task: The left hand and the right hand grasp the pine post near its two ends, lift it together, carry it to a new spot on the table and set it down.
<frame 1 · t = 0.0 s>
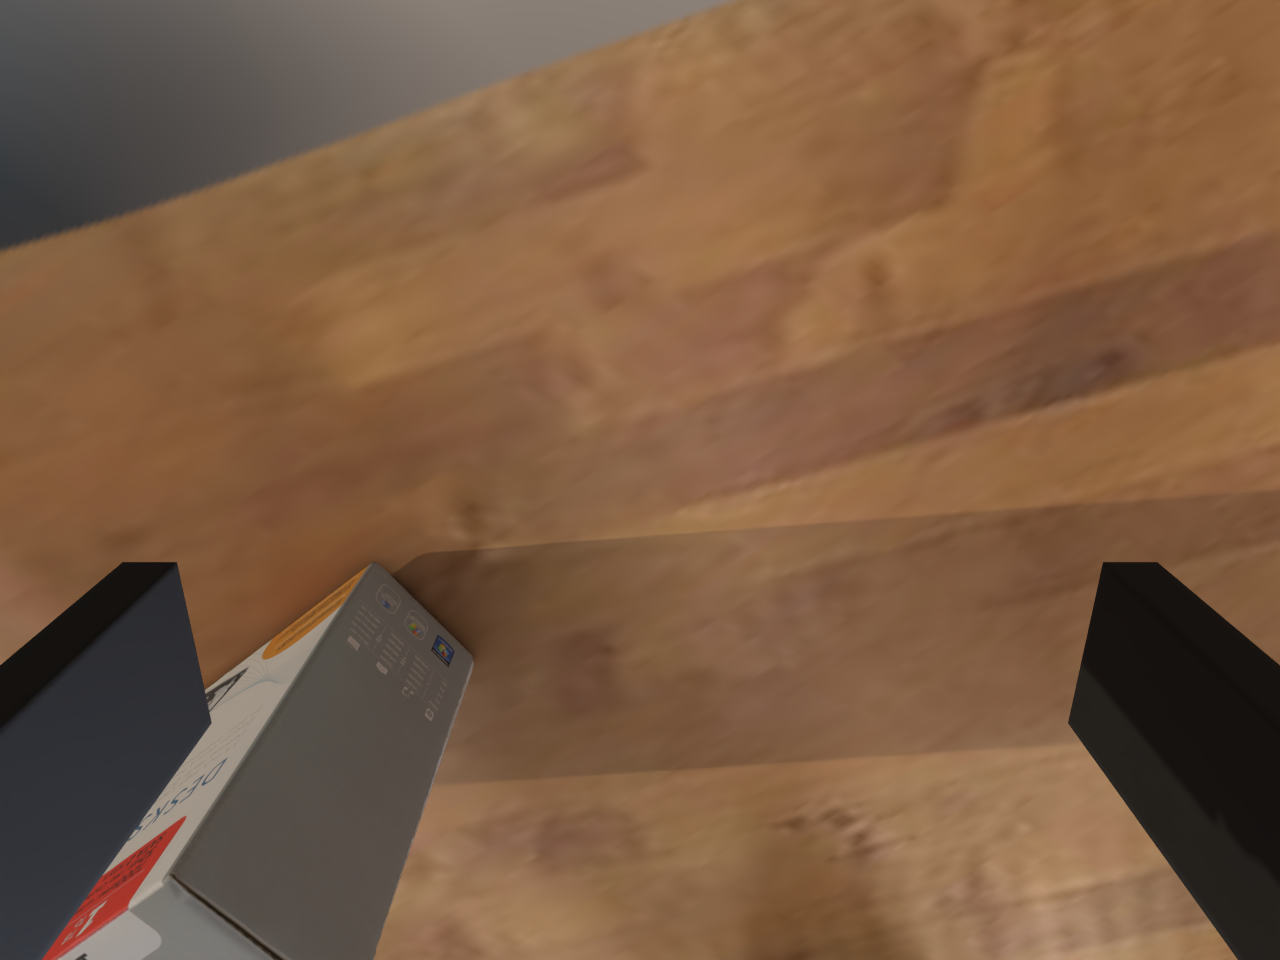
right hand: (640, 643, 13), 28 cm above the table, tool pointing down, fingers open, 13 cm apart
hard drive box: (321, 684, 46), on the table
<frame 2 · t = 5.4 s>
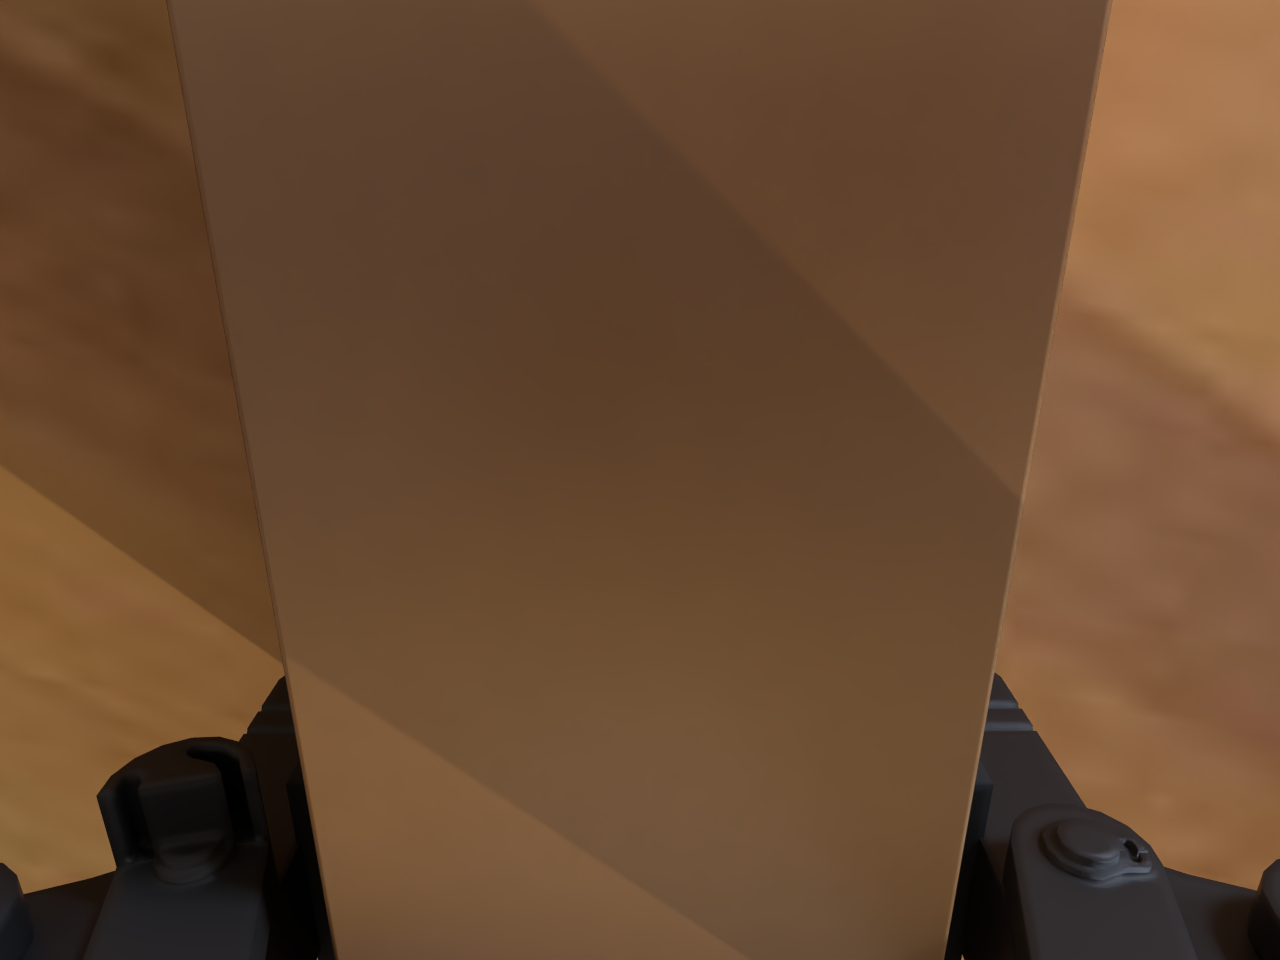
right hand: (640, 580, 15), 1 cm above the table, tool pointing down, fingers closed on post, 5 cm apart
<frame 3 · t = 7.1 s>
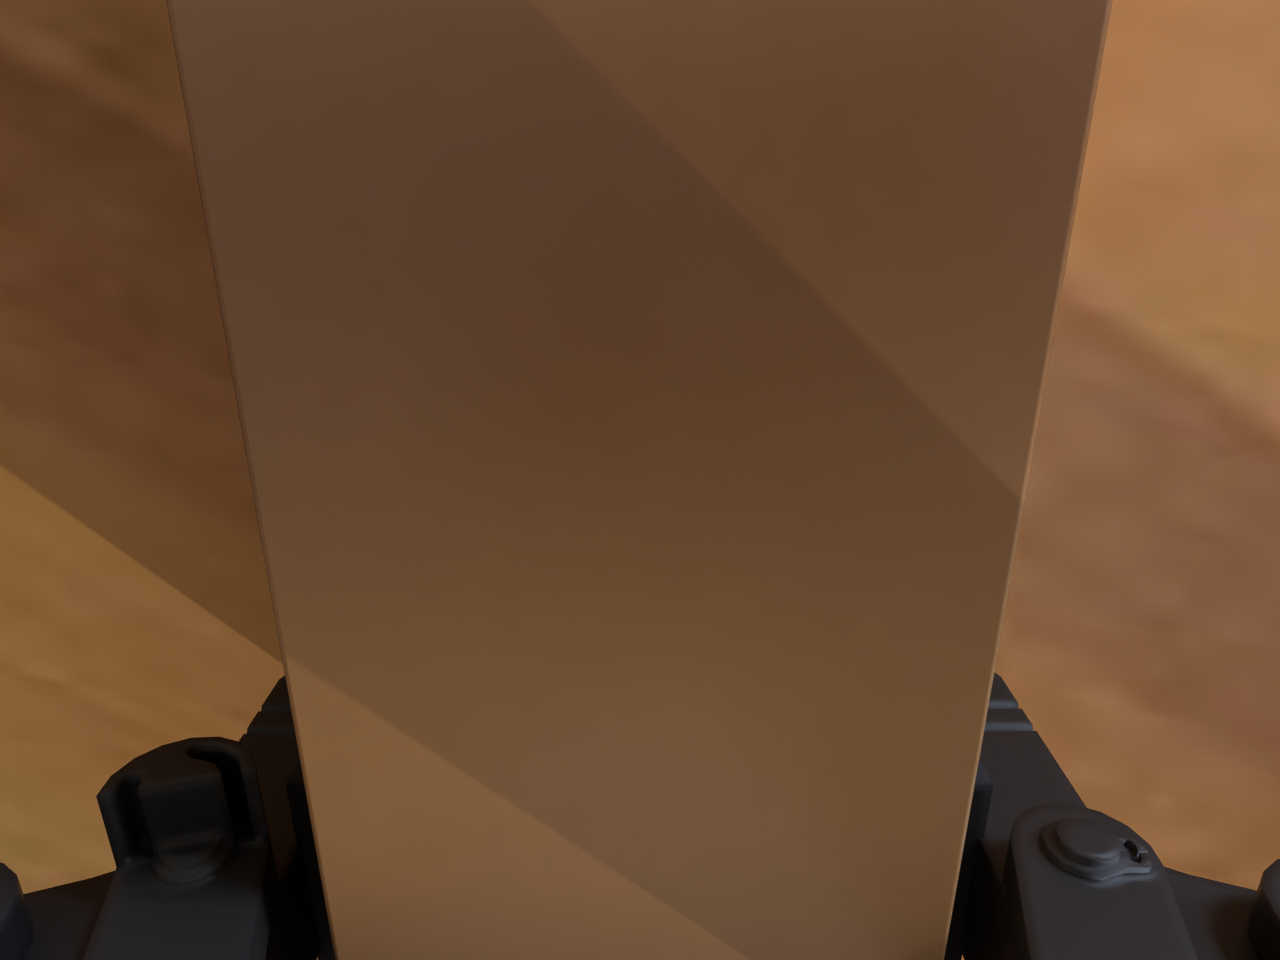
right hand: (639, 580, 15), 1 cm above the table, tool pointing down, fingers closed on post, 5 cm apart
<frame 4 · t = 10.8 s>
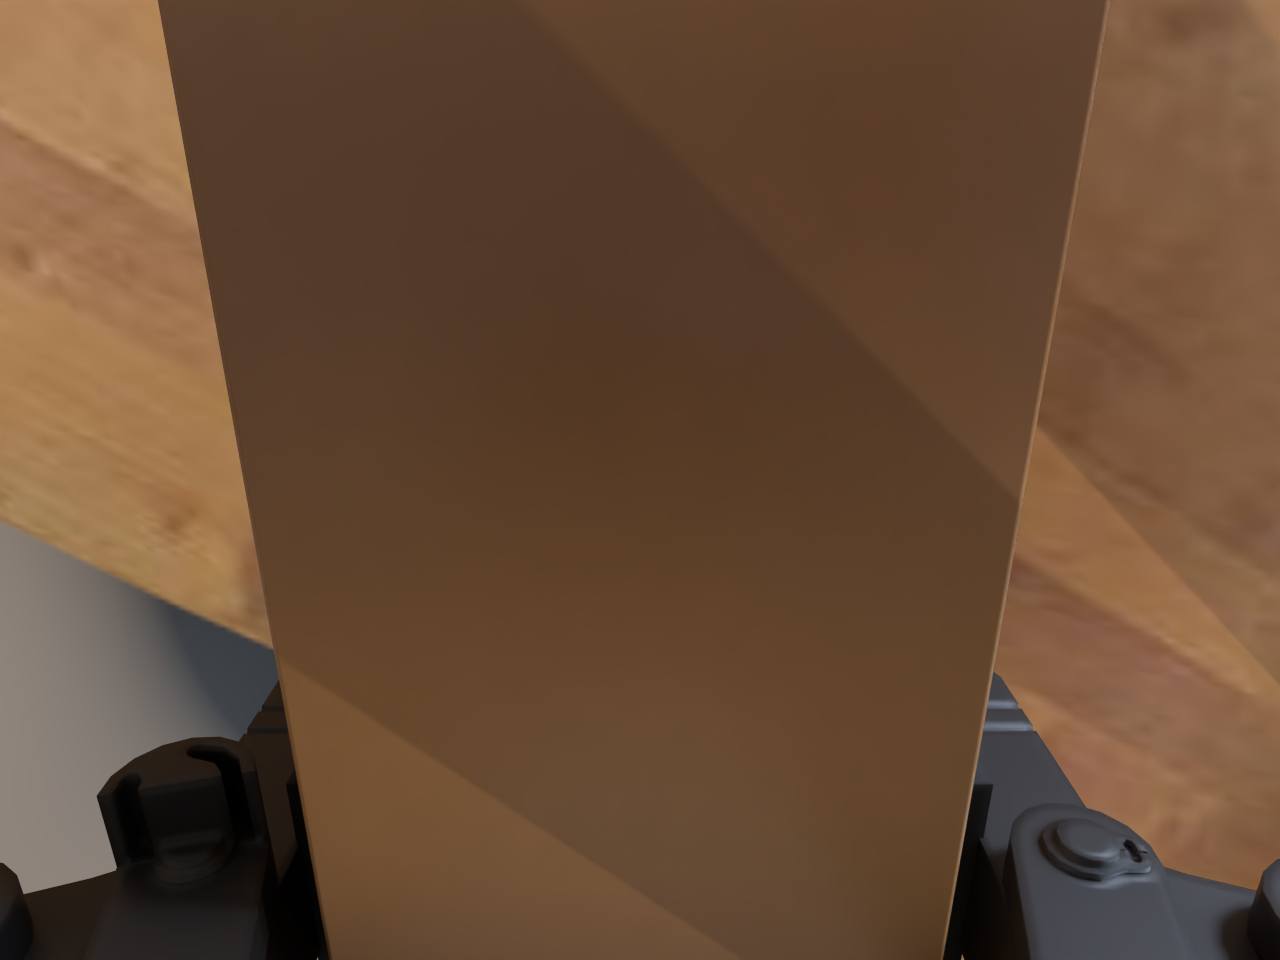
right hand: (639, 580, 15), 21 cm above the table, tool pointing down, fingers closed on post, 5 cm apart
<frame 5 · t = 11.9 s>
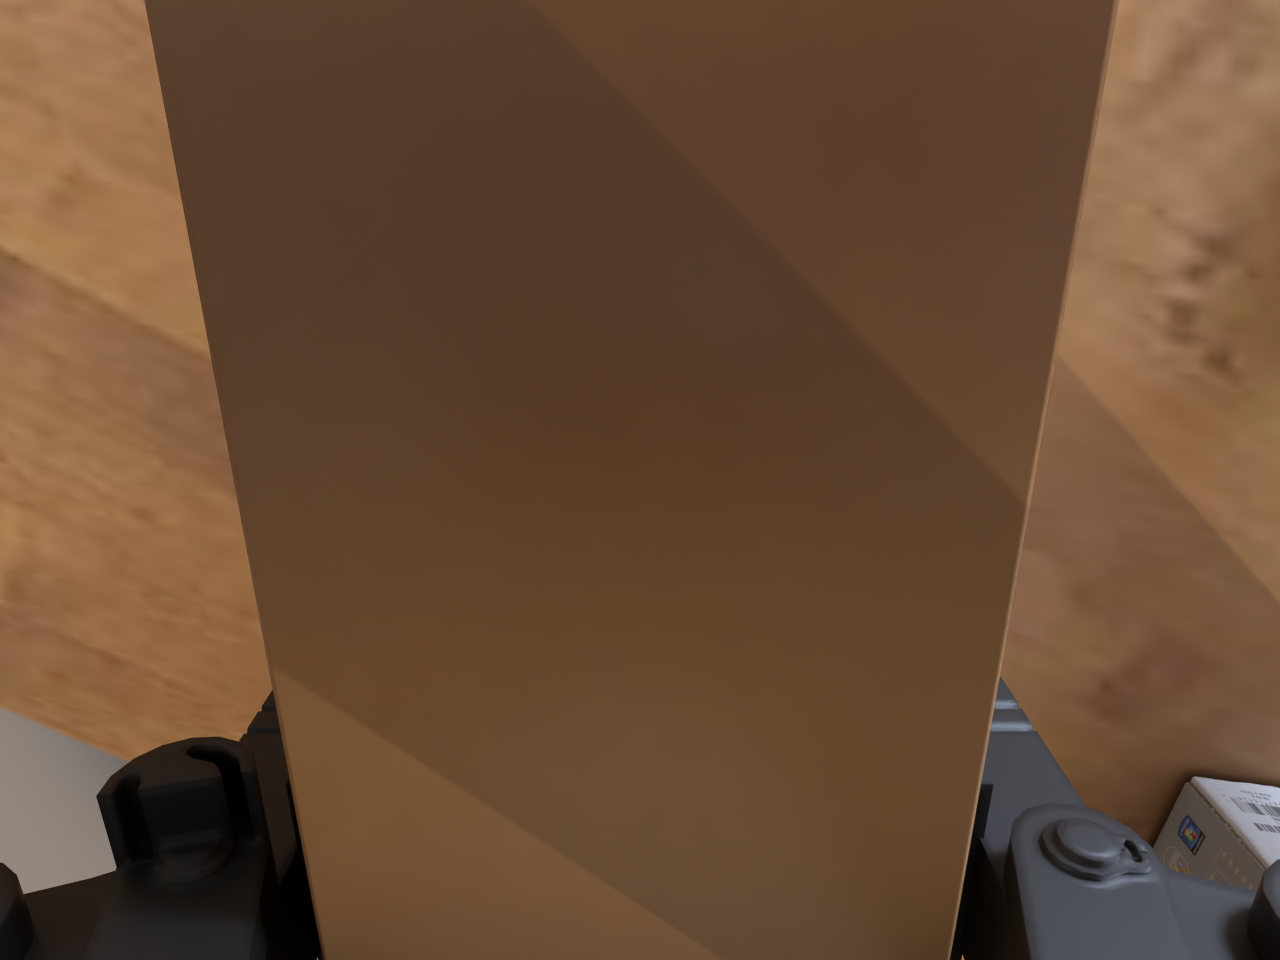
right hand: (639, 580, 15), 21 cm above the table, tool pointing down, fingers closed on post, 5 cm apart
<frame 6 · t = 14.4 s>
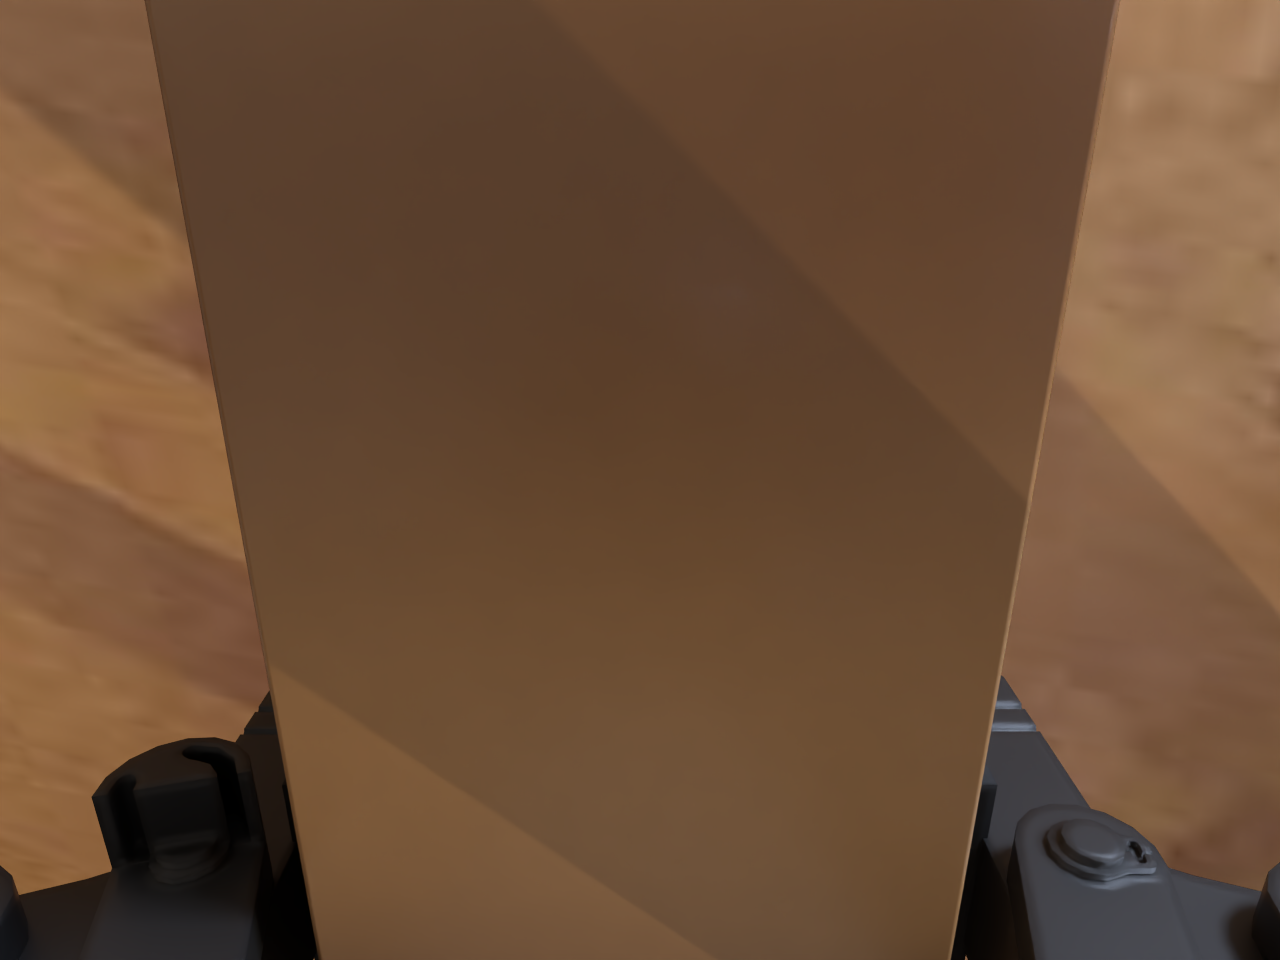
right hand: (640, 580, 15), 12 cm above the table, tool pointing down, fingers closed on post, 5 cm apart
when the right hand's fingers open (2 cm above the table, at t = 16.4 s): post drops 2 cm, on the table.
when the left hand's fingers open (5 cm above the table, at t = 16.6 s): post stays where it is, on the table.
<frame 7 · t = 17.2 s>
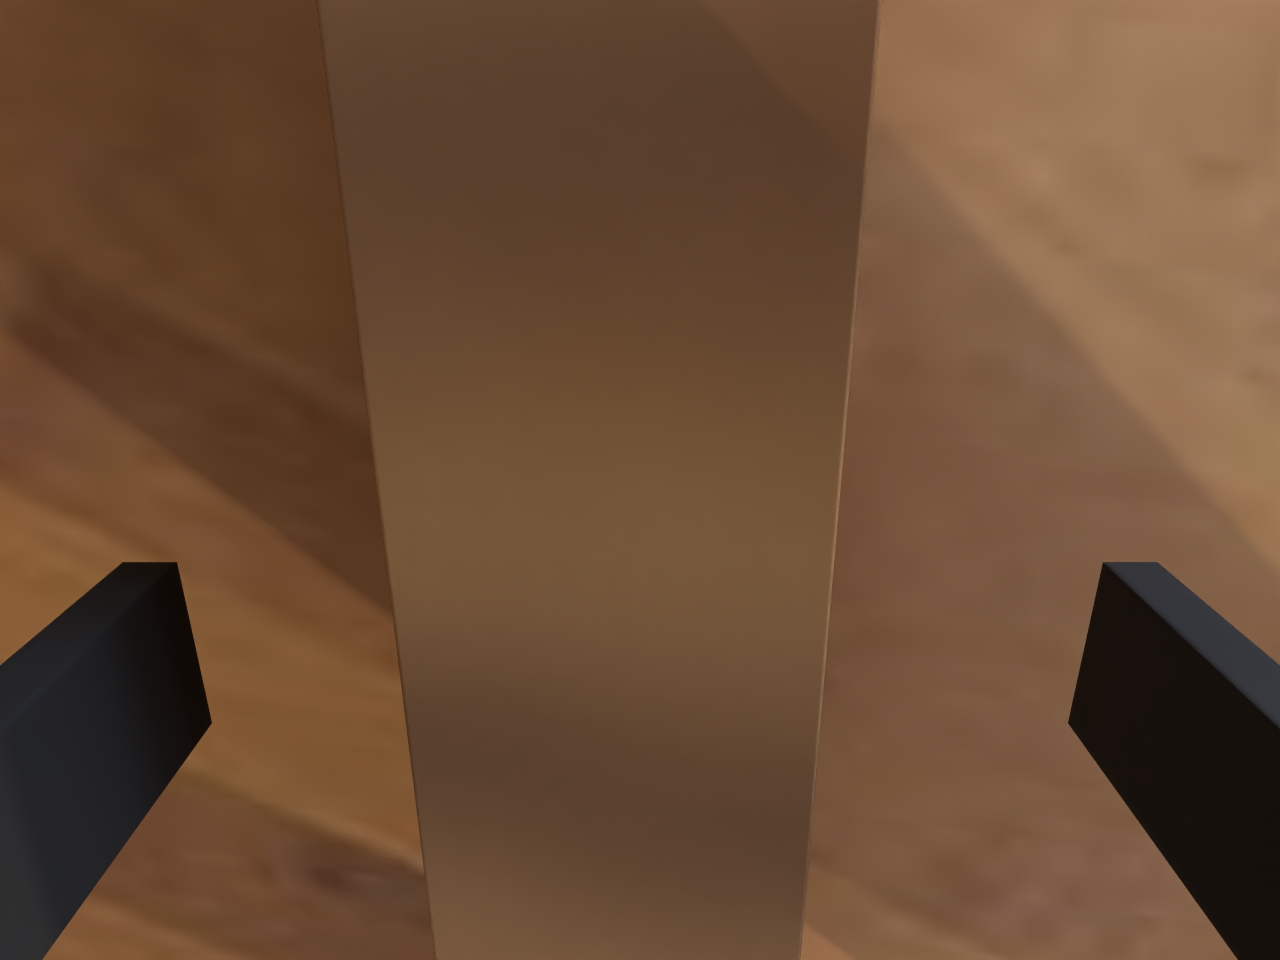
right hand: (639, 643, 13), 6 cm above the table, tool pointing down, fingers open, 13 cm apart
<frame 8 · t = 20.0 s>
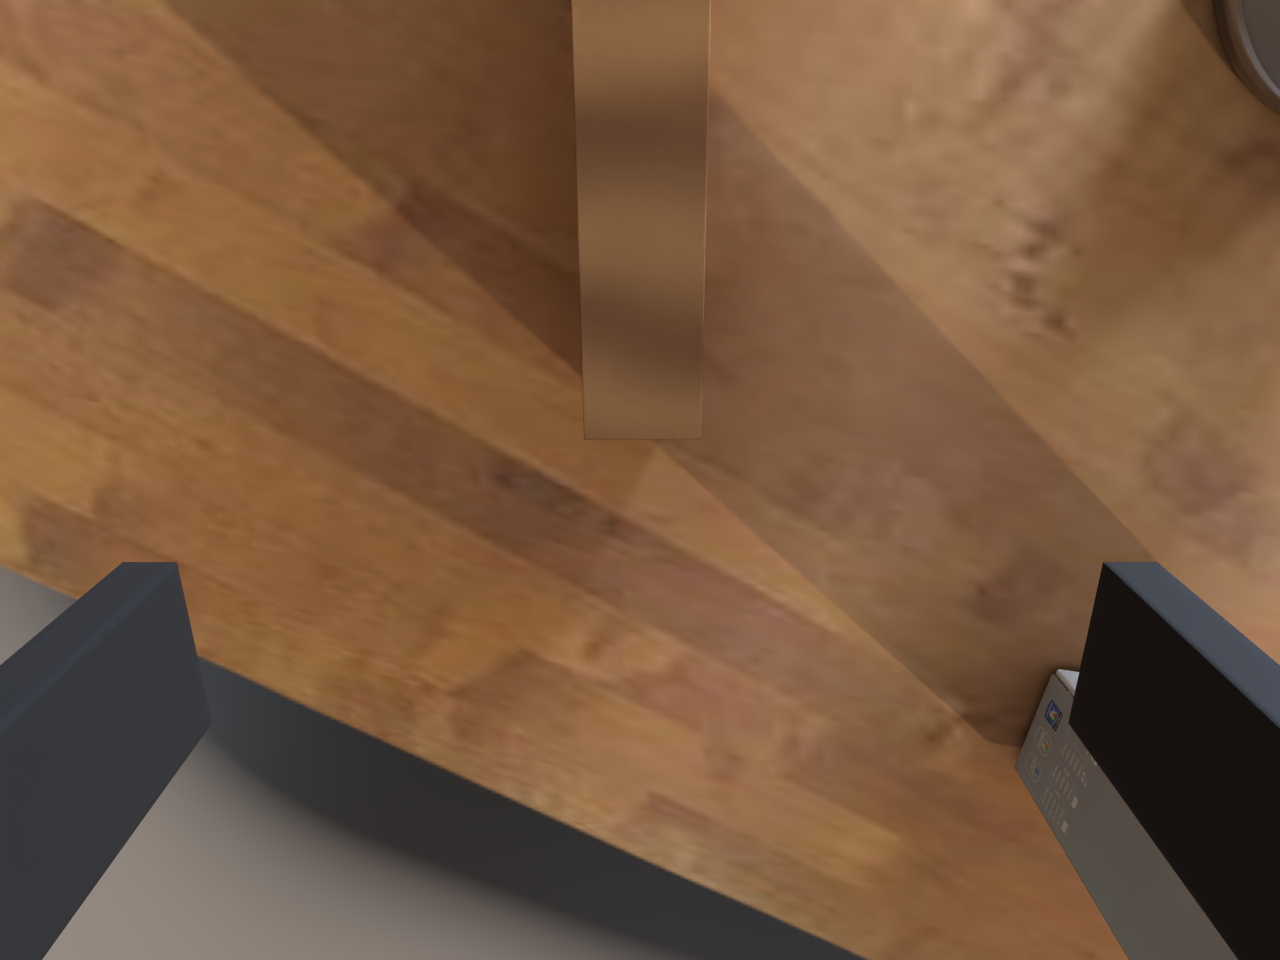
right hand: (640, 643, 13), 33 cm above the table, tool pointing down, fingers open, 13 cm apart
hard drive box: (1150, 733, 54), on the table
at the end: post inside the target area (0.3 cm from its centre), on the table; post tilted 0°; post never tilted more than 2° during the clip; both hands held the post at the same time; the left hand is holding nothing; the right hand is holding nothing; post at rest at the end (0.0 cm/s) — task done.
